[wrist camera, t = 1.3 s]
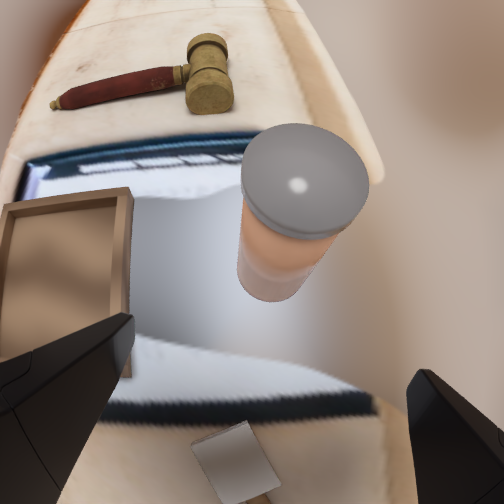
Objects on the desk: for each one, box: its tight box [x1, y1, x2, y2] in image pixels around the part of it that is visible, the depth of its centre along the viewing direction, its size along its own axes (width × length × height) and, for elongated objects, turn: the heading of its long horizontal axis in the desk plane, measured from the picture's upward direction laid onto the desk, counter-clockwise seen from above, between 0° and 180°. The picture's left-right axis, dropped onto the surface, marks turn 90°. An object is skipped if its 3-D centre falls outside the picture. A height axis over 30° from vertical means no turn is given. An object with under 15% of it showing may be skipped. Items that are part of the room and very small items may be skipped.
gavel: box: [50, 33, 234, 115], centre depth 29 cm, size 21×5×10 cm
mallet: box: [190, 420, 282, 504], centre depth 17 cm, size 11×4×2 cm, turn 26°
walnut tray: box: [0, 187, 134, 377], centre depth 21 cm, size 14×13×2 cm
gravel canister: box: [237, 123, 369, 302], centre depth 18 cm, size 5×5×12 cm
